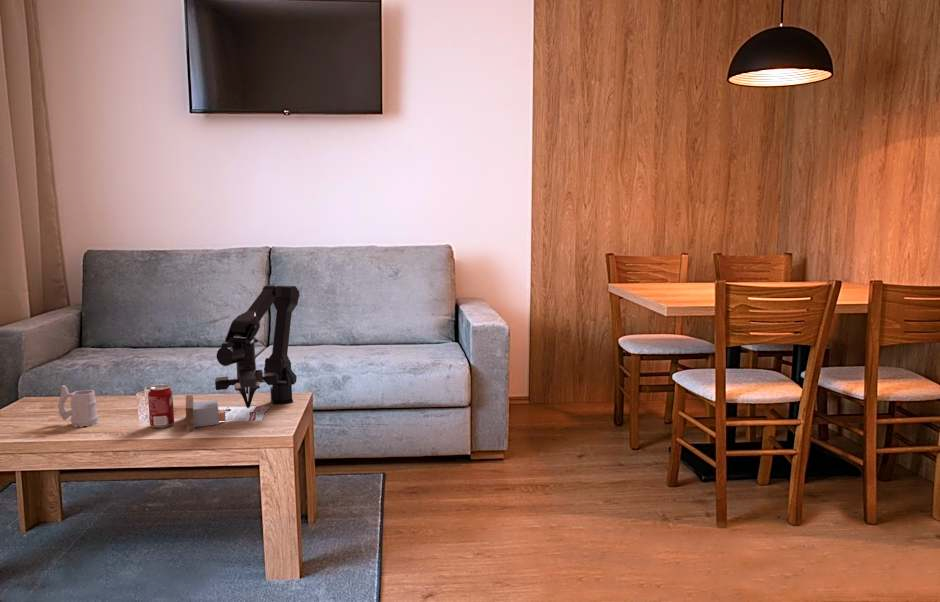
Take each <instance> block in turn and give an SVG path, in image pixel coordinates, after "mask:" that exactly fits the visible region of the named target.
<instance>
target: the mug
mask: <svg viewBox="0 0 940 602" xmlns="http://www.w3.org/2000/svg"><path fill="white" fill-rule="evenodd" d="M68 398H70V403H69V405H70V408H71V410H68V409H67V408H66V401H67V399H68ZM57 407H58V414H59V416H60V417H61V418H62V420H63V421H67V419H69V417H70V416H71V417H70V423H71V426H72V425H73V426H74V428H84V427H83V426H87V427H90V426H89V425H92V426H94V425H93V424H95V423H97V422H98V423H99V417H100V415H99V414H98V411H97V399H96V394H95V390H92V389H84V390H76V391H73V392H69V388H68V387H67V386H66V385H64V384H63V385H61V392H60V396H59V401H58V404H57ZM98 423H97V424H98ZM95 425H96V424H95ZM73 426H72V427H73ZM78 426H79V427H78Z"/></svg>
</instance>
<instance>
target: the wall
mask: <svg viewBox="0 0 940 602" xmlns="http://www.w3.org/2000/svg"><path fill="white" fill-rule="evenodd" d="M193 402H194V394H186V395H185V419H186V420H185V423H186V432H194V431H195V427H194V415H193Z"/></svg>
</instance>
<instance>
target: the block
mask: <svg viewBox="0 0 940 602" xmlns="http://www.w3.org/2000/svg"><path fill="white" fill-rule="evenodd" d="M218 411H219V404H218V399H213V400H212V399H211V400H205V401H204V400H202V401H193V415H194V428H195V427H206V426H213V425H214V426H216V425H219V424H220V423H219V417H218ZM215 424H216V425H215Z"/></svg>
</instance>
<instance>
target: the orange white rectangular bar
mask: <svg viewBox="0 0 940 602" xmlns="http://www.w3.org/2000/svg"><path fill="white" fill-rule="evenodd" d="M218 417H219V421H226V410H225V409H222V410H218Z"/></svg>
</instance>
